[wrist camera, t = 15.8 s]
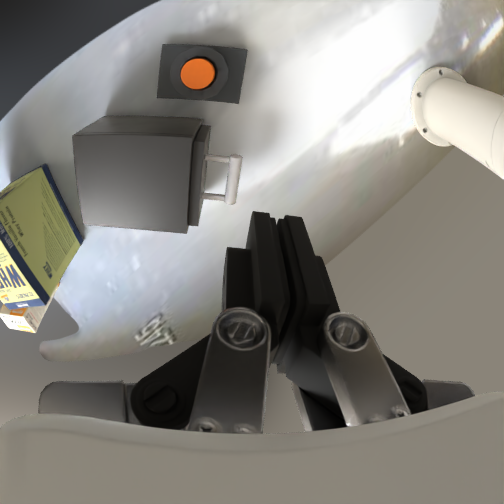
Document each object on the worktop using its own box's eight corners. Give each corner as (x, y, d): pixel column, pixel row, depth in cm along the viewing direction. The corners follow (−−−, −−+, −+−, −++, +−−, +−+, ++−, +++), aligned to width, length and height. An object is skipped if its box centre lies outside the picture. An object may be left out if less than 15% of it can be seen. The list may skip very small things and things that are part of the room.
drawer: (244, 129, 34) (246, 146, 28) (233, 200, 41) (233, 229, 35) (117, 121, 32) (93, 137, 26) (119, 191, 38) (100, 218, 33)
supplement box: (51, 266, 47) (23, 316, 37) (60, 284, 50) (36, 334, 40) (24, 267, 47) (-3, 313, 37) (34, 284, 50) (9, 329, 40)
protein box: (46, 161, 35) (-15, 215, 22) (85, 240, 44) (47, 308, 32) (9, 182, 36) (-45, 234, 23) (47, 251, 45) (9, 312, 33)
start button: (217, 59, 27) (215, 59, 26) (212, 88, 29) (211, 90, 28) (185, 57, 26) (182, 57, 25) (181, 86, 29) (178, 88, 27)
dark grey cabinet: (202, 118, 34) (192, 137, 27) (195, 197, 41) (186, 234, 34) (104, 116, 32) (72, 135, 25) (107, 191, 39) (83, 224, 32)
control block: (247, 49, 29) (248, 49, 26) (238, 102, 33) (238, 106, 30) (165, 44, 27) (158, 43, 25) (159, 96, 32) (153, 100, 29)
